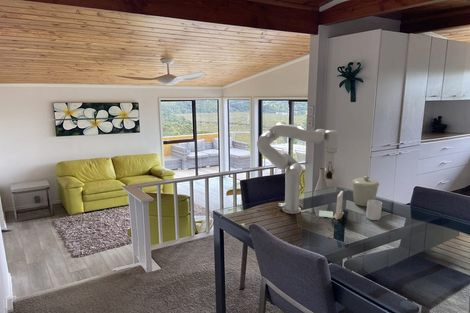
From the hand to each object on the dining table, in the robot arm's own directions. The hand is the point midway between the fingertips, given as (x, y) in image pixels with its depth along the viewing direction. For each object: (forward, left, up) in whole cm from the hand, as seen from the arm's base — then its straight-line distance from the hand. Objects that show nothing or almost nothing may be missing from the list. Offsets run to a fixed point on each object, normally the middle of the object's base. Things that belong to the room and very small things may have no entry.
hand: (329, 176), depth 216 cm
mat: (0, 0, -27) cm, 27 cm away
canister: (+26, +26, -27) cm, 45 cm away
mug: (+30, +4, -27) cm, 41 cm away
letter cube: (0, 0, -1) cm, 1 cm away
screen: (+8, 0, -27) cm, 28 cm away
